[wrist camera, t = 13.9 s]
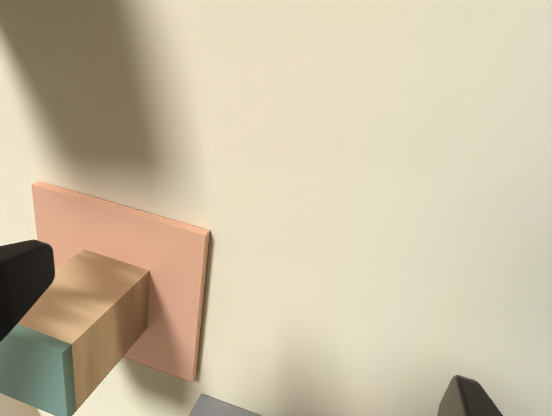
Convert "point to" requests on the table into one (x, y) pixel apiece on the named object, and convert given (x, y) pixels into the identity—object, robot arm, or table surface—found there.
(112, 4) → the table surface
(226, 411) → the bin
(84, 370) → the oak block
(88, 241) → the tile
